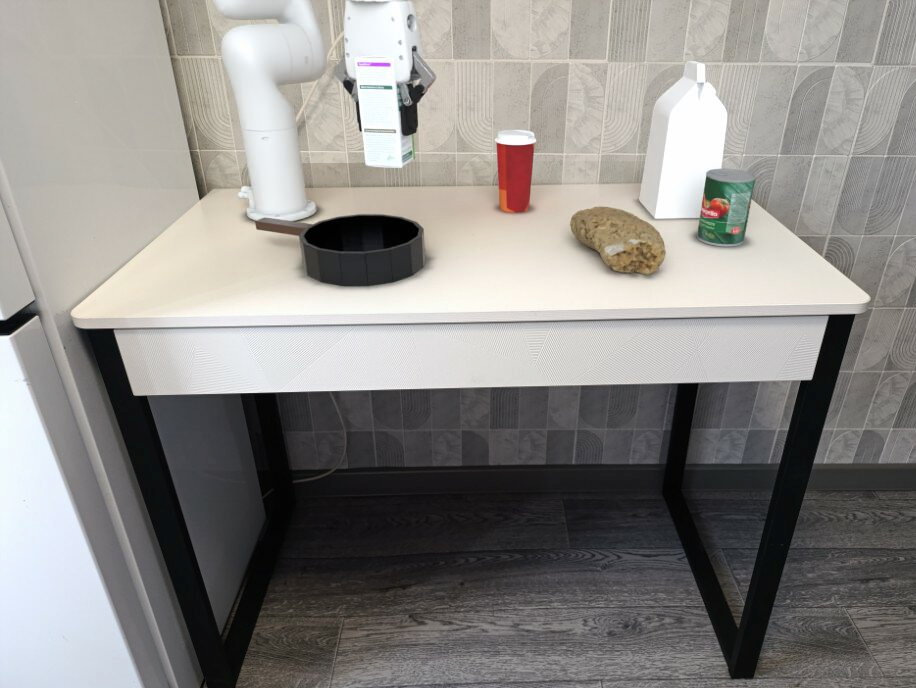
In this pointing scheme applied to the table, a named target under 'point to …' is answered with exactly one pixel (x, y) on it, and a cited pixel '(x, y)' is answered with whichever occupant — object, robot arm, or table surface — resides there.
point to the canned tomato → (725, 207)
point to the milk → (683, 146)
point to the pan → (356, 247)
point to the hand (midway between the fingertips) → (388, 130)
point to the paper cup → (515, 169)
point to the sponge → (620, 239)
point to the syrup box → (381, 114)
